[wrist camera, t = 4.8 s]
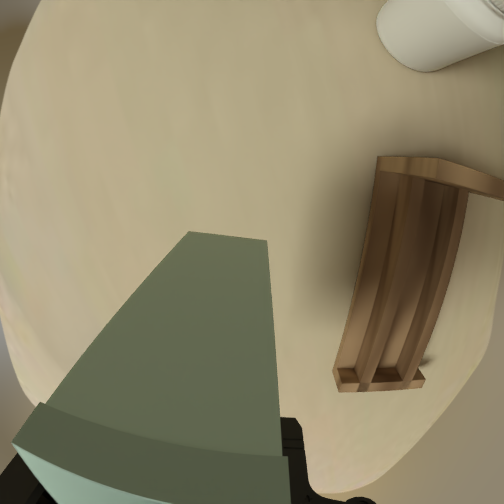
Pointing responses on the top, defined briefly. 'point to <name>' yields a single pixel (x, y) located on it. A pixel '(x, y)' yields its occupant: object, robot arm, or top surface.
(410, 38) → the pill bottle
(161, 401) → the door panel
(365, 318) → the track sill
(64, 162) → the top surface
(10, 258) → the top surface
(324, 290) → the top surface
